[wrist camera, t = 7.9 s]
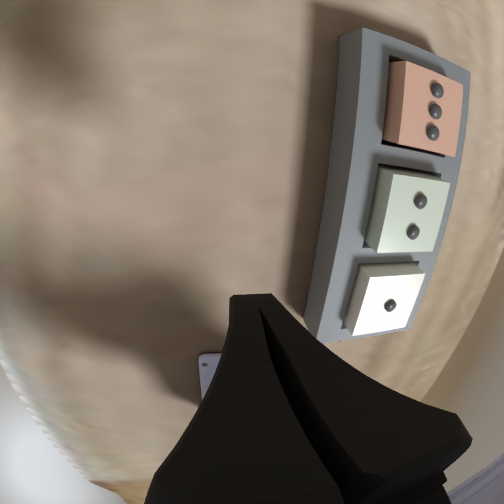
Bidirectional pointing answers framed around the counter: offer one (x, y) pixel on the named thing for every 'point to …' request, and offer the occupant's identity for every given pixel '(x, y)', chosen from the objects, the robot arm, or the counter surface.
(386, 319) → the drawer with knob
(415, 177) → the tile
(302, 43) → the counter surface
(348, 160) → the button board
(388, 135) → the three-pip tile
